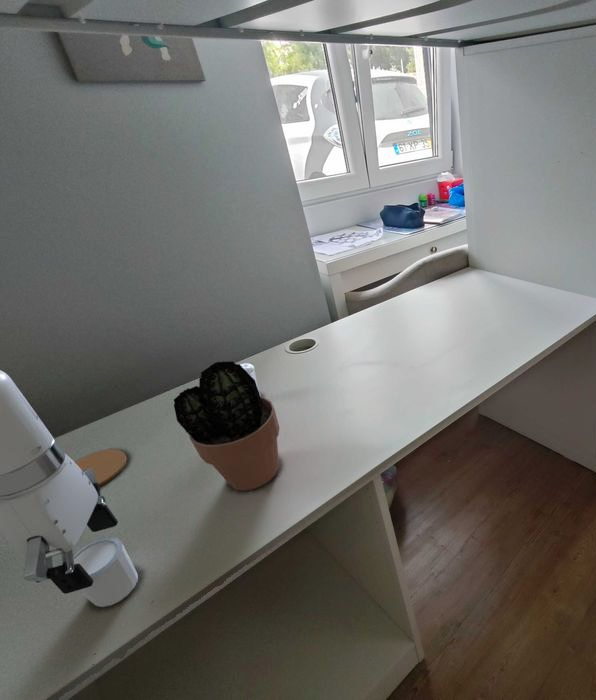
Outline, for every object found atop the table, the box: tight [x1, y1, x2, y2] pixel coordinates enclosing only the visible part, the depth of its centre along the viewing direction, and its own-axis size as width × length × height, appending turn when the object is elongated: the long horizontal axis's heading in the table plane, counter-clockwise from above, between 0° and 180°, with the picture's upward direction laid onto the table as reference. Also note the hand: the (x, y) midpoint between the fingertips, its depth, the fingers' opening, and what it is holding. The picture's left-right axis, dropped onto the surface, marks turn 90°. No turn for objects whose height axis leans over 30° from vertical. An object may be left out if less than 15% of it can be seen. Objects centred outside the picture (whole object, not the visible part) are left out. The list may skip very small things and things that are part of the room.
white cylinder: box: [73, 536, 139, 608], centre depth 63 cm, size 7×7×7 cm
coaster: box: [74, 449, 128, 487], centre depth 85 cm, size 11×11×1 cm
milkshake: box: [240, 362, 262, 397], centre depth 101 cm, size 4×5×10 cm
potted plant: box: [173, 360, 280, 491], centre depth 77 cm, size 14×14×25 cm
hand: (93, 555), depth 61 cm, fingers open, 9 cm apart
